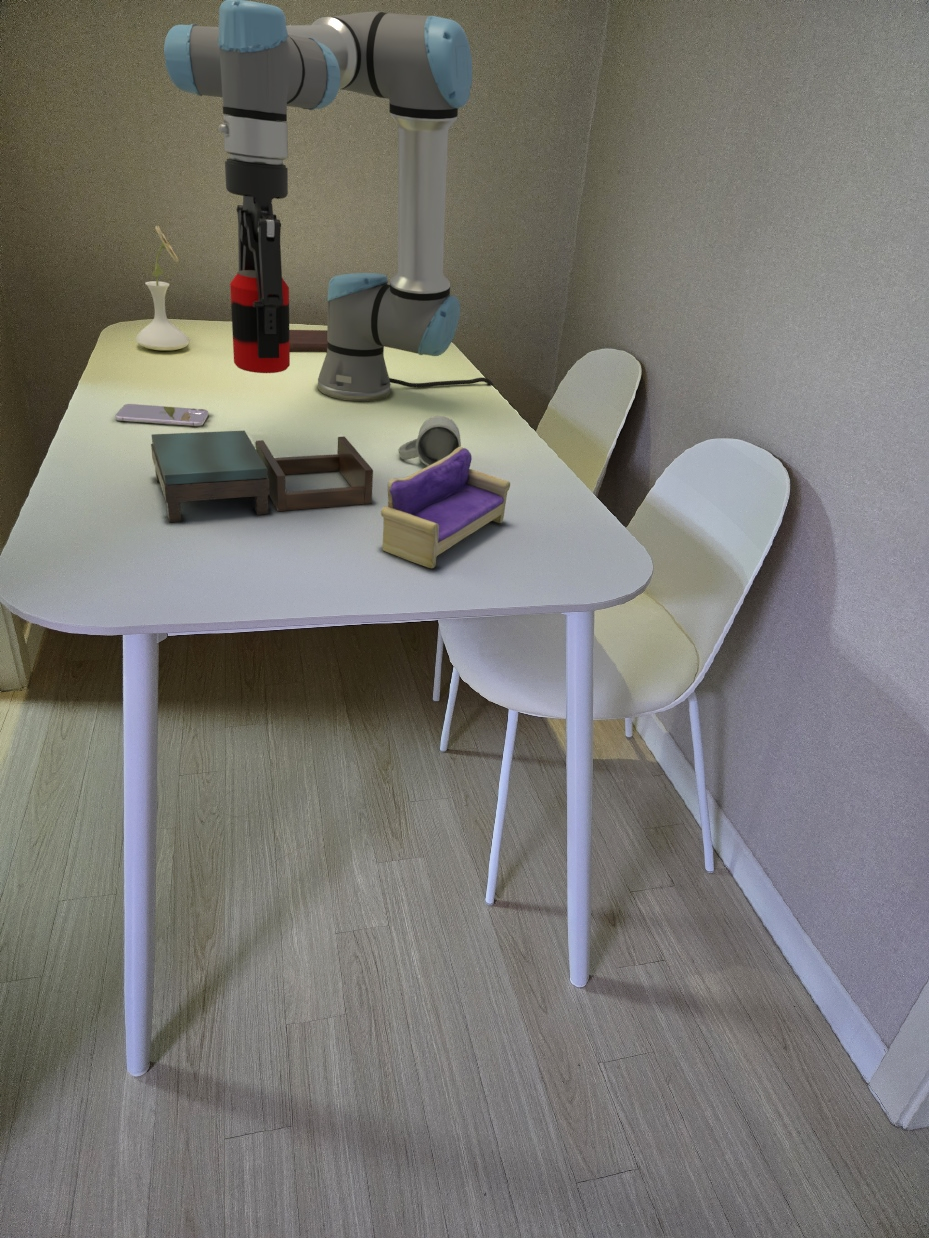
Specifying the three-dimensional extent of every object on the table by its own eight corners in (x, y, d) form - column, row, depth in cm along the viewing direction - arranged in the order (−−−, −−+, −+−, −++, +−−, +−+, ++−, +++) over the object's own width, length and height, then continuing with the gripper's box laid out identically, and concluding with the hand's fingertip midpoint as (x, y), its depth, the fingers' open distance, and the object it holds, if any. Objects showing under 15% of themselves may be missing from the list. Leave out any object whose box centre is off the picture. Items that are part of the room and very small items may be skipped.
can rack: (343, 467, 132) (344, 436, 129) (371, 503, 122) (373, 469, 119) (256, 473, 127) (255, 440, 124) (277, 511, 116) (277, 476, 113)
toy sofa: (429, 572, 105) (436, 502, 100) (377, 551, 109) (381, 482, 103) (506, 523, 121) (515, 459, 115) (458, 505, 124) (465, 443, 119)
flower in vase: (180, 357, 176) (170, 233, 163) (128, 351, 175) (114, 226, 162) (198, 343, 187) (190, 226, 174) (149, 337, 187) (137, 220, 173)
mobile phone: (124, 402, 145) (209, 408, 147) (125, 407, 145) (209, 413, 147) (113, 415, 138) (202, 421, 140) (113, 421, 139) (202, 427, 141)
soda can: (278, 377, 107) (276, 282, 101) (225, 368, 108) (219, 274, 102) (297, 363, 114) (296, 274, 107) (246, 356, 114) (243, 266, 108)
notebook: (261, 335, 199) (261, 327, 198) (338, 336, 206) (338, 328, 205) (273, 351, 188) (272, 343, 187) (354, 352, 195) (354, 343, 194)
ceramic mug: (458, 453, 143) (461, 412, 139) (458, 470, 136) (462, 427, 132) (399, 449, 143) (401, 407, 139) (397, 466, 136) (399, 422, 132)
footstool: (247, 472, 127) (245, 429, 123) (270, 514, 115) (269, 469, 111) (154, 478, 121) (149, 433, 117) (168, 523, 109) (163, 475, 105)
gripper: (209, 150, 104) (219, 330, 116) (243, 164, 88) (250, 370, 100) (267, 155, 107) (270, 331, 119) (309, 170, 92) (308, 369, 104)
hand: (261, 348), depth 110 cm, fingers closed on soda can, 8 cm apart
